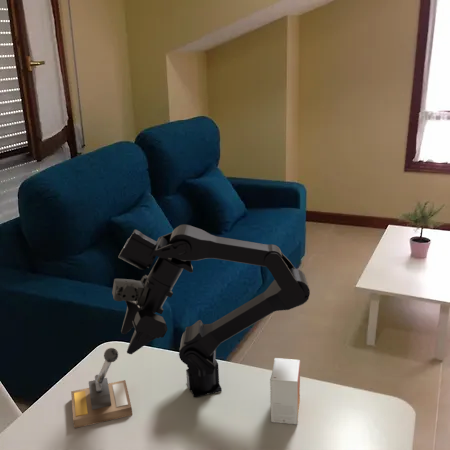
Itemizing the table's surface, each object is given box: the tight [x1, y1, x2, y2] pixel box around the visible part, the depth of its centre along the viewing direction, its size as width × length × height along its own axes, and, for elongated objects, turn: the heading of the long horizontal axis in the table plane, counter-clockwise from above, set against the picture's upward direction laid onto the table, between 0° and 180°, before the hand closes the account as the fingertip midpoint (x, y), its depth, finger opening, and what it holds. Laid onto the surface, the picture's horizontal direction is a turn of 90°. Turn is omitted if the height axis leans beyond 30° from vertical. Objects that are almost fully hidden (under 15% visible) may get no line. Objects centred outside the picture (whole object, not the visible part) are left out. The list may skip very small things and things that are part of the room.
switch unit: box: [70, 377, 133, 429], centre depth 117 cm, size 12×10×5 cm
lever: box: [94, 347, 119, 393], centre depth 115 cm, size 3×5×9 cm, turn 18°
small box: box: [269, 357, 301, 425], centre depth 112 cm, size 8×6×10 cm
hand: (125, 343), depth 114 cm, fingers open, 9 cm apart
